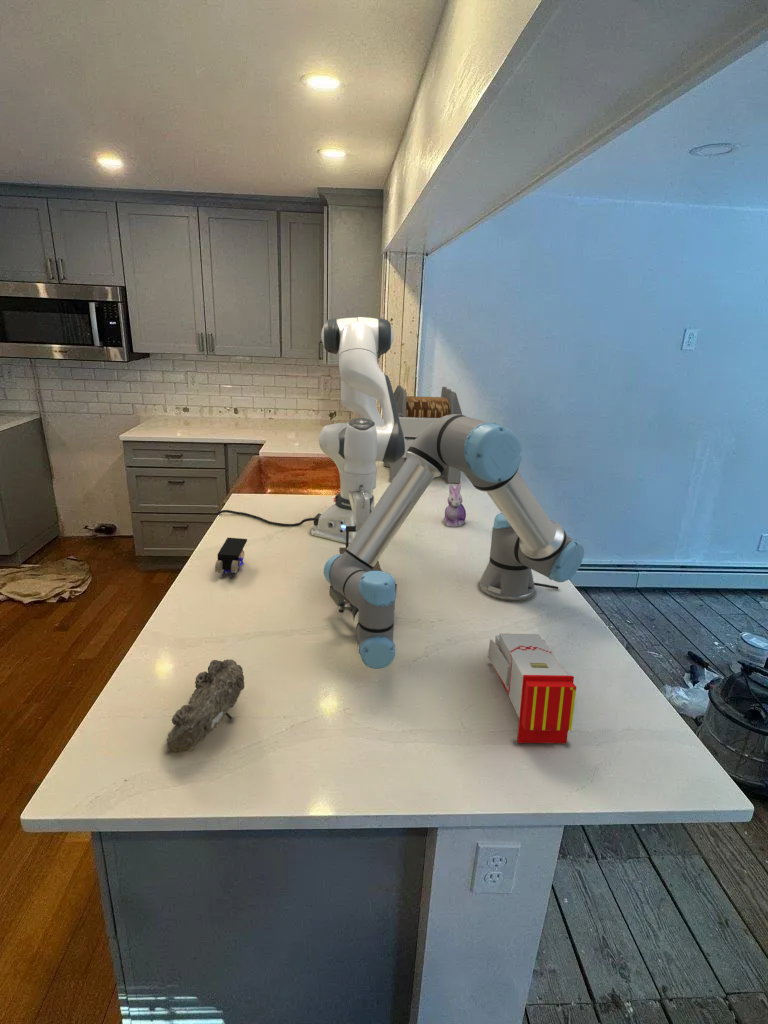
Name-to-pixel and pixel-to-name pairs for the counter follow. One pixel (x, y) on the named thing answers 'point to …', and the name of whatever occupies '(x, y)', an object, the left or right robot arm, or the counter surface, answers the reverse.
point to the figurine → (454, 508)
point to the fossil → (206, 705)
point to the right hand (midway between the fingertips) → (360, 576)
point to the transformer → (423, 422)
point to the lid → (342, 550)
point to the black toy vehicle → (230, 556)
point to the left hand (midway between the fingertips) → (358, 528)
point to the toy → (534, 687)
